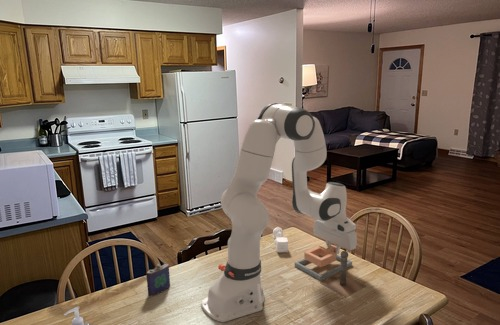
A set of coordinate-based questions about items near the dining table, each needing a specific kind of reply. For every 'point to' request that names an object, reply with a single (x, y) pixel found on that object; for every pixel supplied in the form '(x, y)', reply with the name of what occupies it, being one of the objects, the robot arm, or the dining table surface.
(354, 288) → the post
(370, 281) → the dining table surface
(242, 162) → the robot arm
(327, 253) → the ring
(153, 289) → the flask
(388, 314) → the dining table surface
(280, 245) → the container set
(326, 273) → the grey rectangular frame
